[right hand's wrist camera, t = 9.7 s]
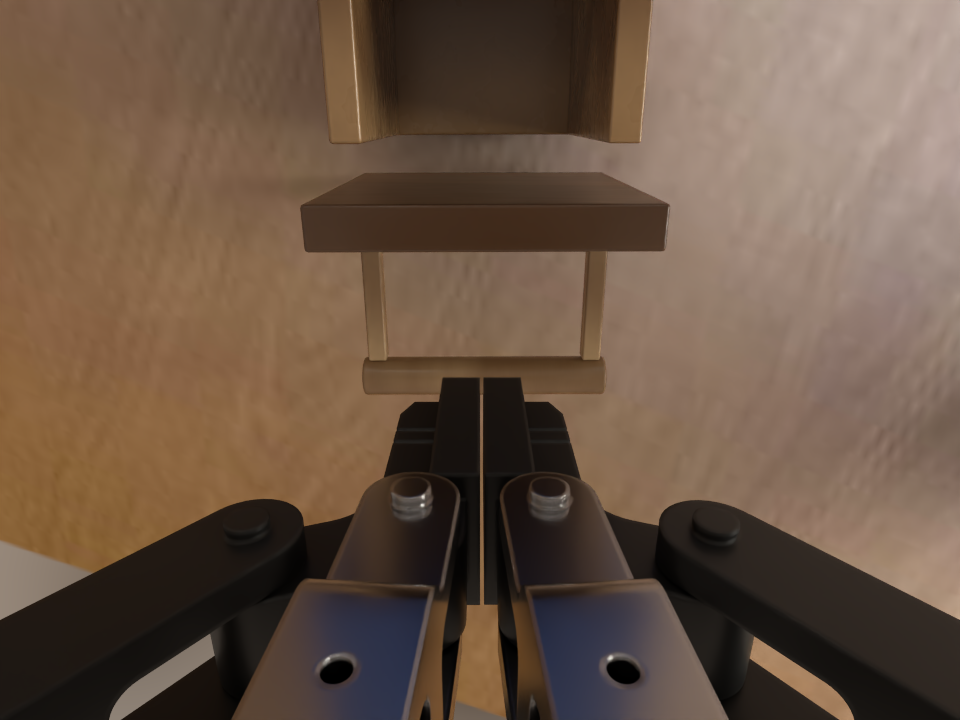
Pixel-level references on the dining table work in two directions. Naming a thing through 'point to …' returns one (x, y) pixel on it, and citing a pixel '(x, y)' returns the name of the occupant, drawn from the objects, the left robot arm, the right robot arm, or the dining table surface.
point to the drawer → (484, 196)
